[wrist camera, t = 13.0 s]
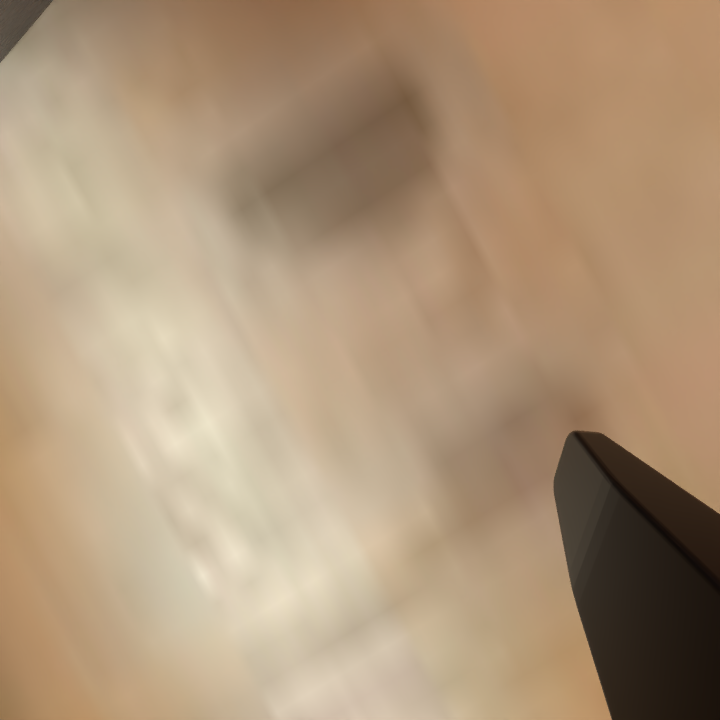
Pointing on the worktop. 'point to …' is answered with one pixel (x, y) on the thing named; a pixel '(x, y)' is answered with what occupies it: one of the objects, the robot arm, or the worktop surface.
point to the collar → (17, 20)
